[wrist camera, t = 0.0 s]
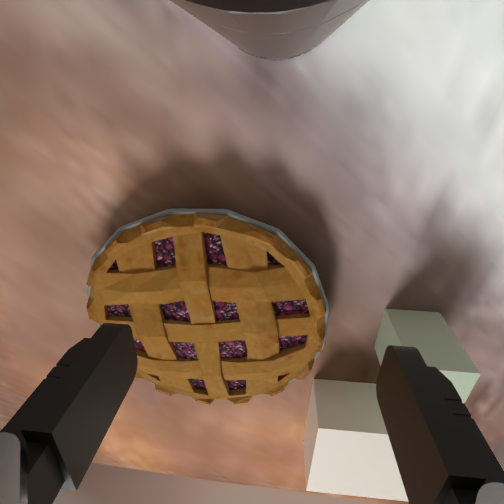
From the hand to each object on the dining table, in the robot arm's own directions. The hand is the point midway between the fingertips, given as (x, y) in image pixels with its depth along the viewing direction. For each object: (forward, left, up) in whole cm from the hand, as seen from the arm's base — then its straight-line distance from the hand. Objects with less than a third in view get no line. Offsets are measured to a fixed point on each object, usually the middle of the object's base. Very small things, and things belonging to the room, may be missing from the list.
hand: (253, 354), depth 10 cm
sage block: (+14, +14, -17) cm, 26 cm away
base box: (+28, +12, -18) cm, 35 cm away
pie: (+12, -5, -18) cm, 22 cm away
